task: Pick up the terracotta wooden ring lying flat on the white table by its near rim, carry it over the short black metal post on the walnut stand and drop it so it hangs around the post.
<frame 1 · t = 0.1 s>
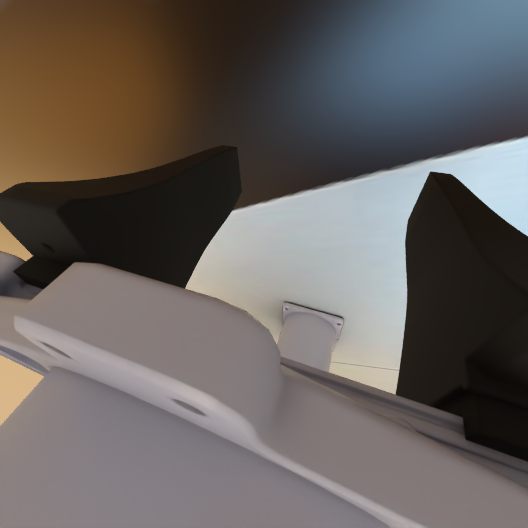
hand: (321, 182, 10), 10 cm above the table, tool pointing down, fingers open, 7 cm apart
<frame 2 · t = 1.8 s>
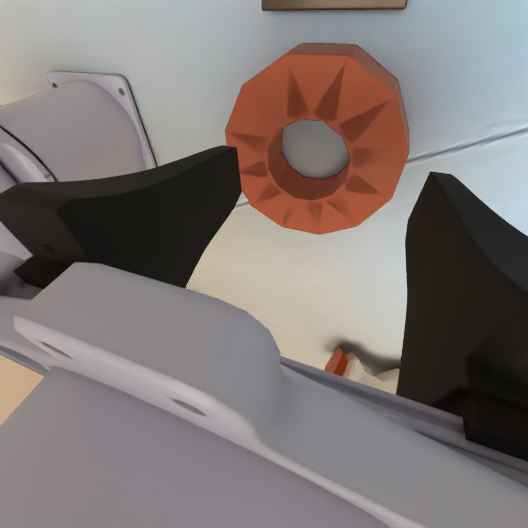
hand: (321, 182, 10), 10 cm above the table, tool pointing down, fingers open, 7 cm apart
potion bottle: (382, 364, 37), on the table
ring: (316, 144, 19), on the table
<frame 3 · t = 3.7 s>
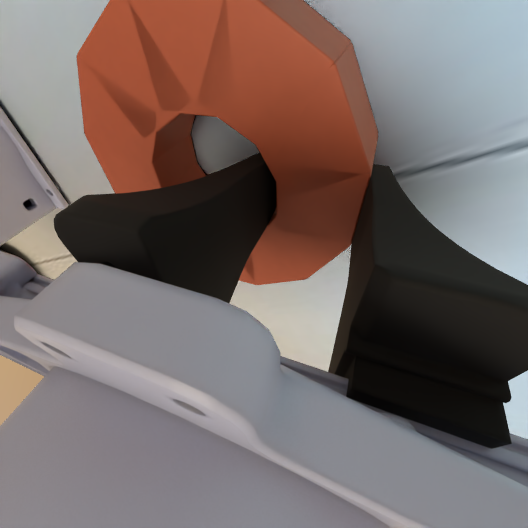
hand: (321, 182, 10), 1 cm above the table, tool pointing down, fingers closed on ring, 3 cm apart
ring: (242, 154, 12), on the table, touching gripper
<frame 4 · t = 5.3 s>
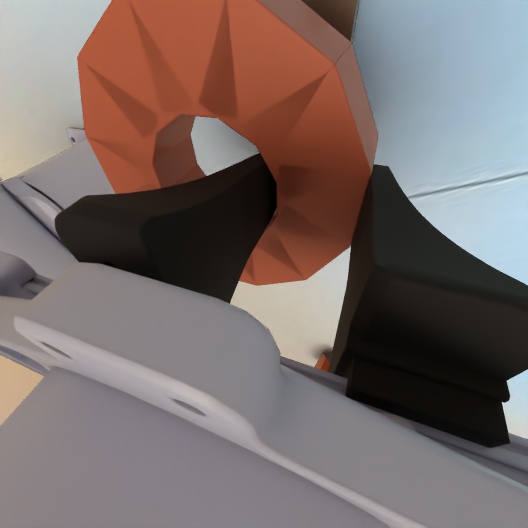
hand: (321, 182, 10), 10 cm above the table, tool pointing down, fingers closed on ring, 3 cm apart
post: (292, 32, 15), on the table
ring: (243, 155, 12), point 9 cm above the table, touching gripper
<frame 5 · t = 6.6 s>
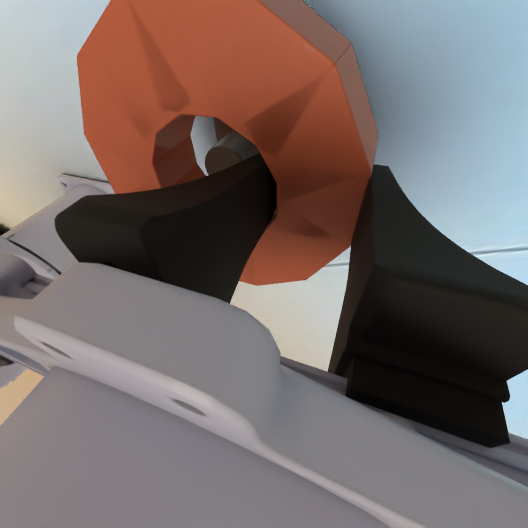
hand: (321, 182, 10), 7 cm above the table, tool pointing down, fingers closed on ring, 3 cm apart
post: (275, 116, 15), on the table
ring: (242, 155, 12), point 5 cm above the table, touching gripper
when the fingers open (5 cm above the table, at t = 7.4 s): ring drops 2 cm, resting on post.
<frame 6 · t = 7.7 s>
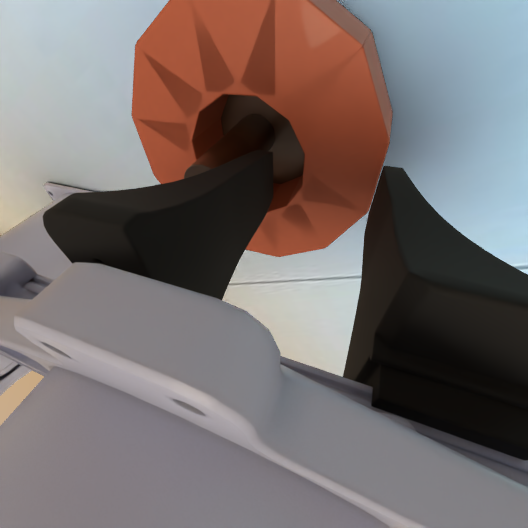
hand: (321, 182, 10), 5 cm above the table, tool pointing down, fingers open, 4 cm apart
post: (264, 126, 14), on the table
ring: (268, 136, 14), point 1 cm above the table, touching post
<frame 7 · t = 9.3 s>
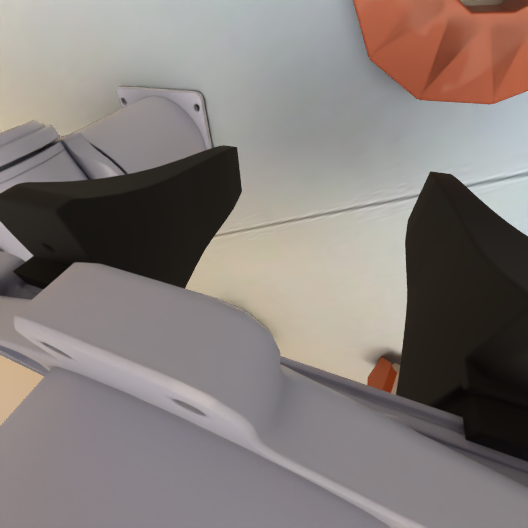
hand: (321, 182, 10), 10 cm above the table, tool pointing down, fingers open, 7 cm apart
potion bottle: (427, 375, 37), on the table
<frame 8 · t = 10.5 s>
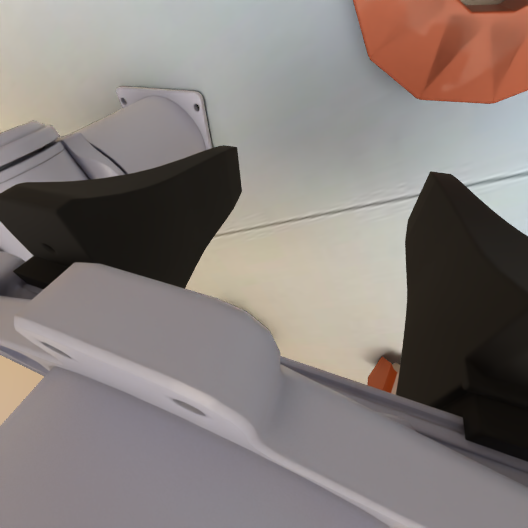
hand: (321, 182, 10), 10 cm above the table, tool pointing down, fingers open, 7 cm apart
potion bottle: (427, 375, 37), on the table
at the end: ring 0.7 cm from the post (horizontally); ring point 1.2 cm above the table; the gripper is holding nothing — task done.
